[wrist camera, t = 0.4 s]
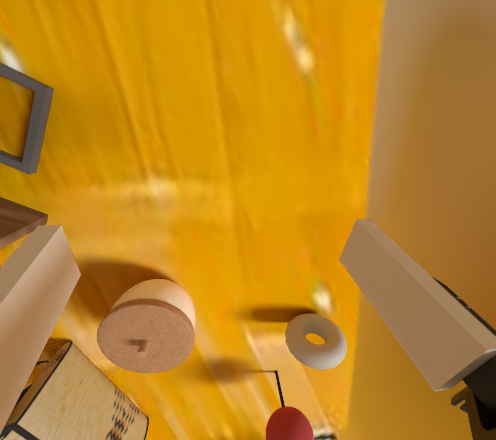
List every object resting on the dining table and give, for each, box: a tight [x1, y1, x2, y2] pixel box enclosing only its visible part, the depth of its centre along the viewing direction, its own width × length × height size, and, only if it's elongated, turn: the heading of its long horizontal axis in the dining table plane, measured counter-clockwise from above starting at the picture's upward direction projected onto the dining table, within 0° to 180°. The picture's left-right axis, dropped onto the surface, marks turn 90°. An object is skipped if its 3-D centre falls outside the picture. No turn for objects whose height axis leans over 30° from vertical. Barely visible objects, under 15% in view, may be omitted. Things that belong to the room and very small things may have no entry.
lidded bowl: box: [97, 279, 196, 373], centre depth 35 cm, size 13×13×11 cm
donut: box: [285, 313, 347, 370], centre depth 40 cm, size 10×4×10 cm, turn 89°
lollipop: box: [266, 371, 314, 440], centre depth 43 cm, size 8×8×15 cm
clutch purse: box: [0, 341, 149, 440], centre depth 41 cm, size 30×7×15 cm, turn 22°
